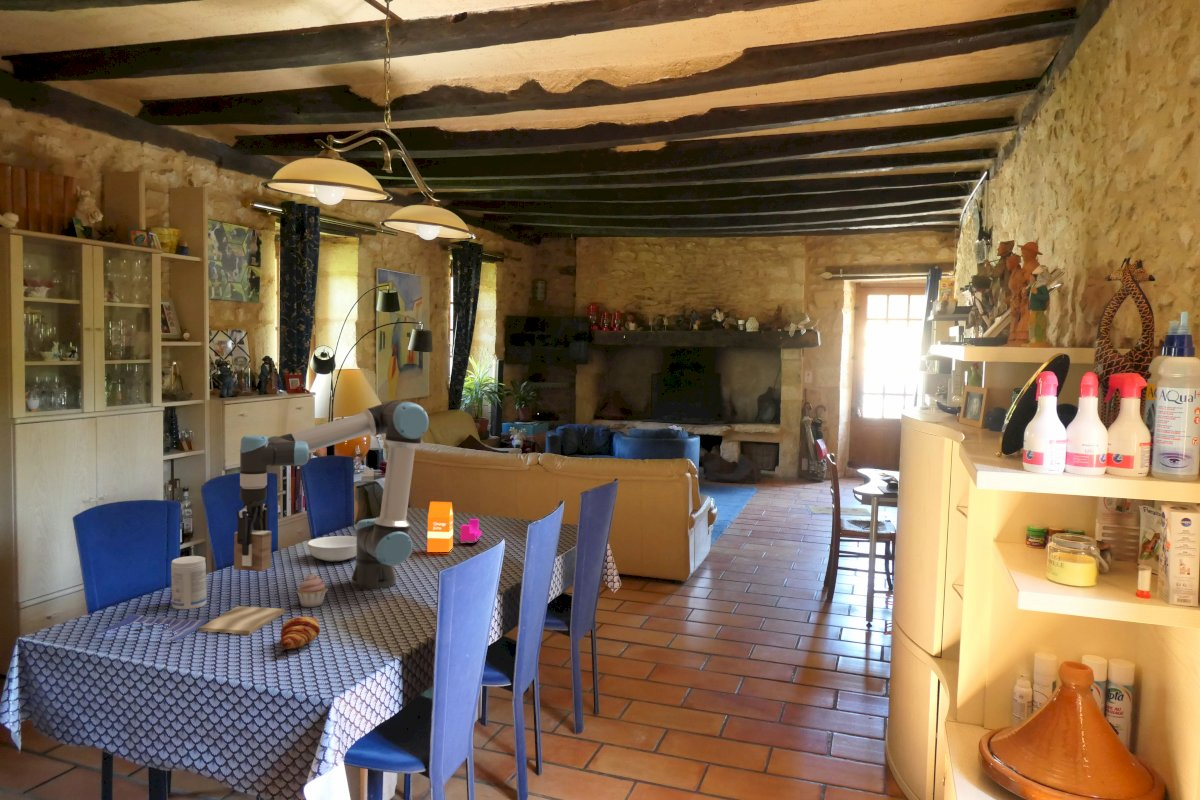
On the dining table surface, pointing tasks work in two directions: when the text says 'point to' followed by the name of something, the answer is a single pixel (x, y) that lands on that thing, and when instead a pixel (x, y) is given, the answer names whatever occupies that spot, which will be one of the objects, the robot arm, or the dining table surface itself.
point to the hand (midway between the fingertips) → (252, 563)
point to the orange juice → (440, 527)
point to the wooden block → (255, 551)
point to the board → (242, 620)
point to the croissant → (299, 632)
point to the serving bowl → (333, 548)
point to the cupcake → (312, 591)
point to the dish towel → (175, 625)
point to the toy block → (470, 531)
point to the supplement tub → (188, 582)
